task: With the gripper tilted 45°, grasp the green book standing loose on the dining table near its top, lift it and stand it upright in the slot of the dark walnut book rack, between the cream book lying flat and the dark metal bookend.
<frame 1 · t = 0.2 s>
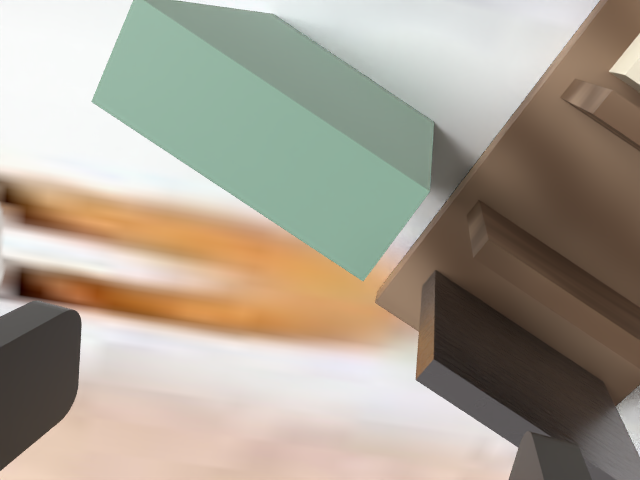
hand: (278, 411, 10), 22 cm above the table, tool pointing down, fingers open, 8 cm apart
bookend: (512, 333, 30), resting on book rack
book rack: (610, 210, 28), on the table
book: (336, 97, 29), on the table
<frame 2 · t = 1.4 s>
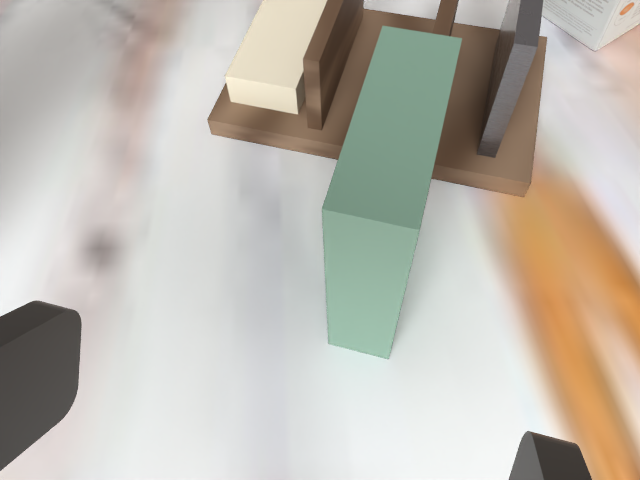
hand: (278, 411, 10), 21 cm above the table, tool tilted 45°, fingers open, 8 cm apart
toppled book: (285, 59, 41), resting on book rack
bookend: (495, 96, 39), resting on book rack
small box: (595, 14, 46), on the table
book rack: (382, 92, 42), on the table
book: (377, 275, 34), on the table
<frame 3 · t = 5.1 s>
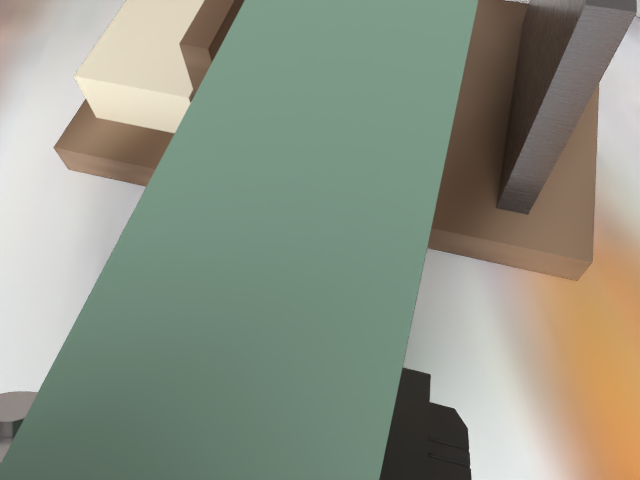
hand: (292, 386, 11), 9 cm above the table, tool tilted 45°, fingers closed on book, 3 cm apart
toppled book: (191, 50, 26), resting on book rack
bookend: (525, 108, 24), resting on book rack
book rack: (344, 100, 26), on the table
book: (321, 431, 19), on the table, touching gripper
when the fingers open (12 cm above the table, at t = 10.6 s): book drops 1 cm, resting on book rack.
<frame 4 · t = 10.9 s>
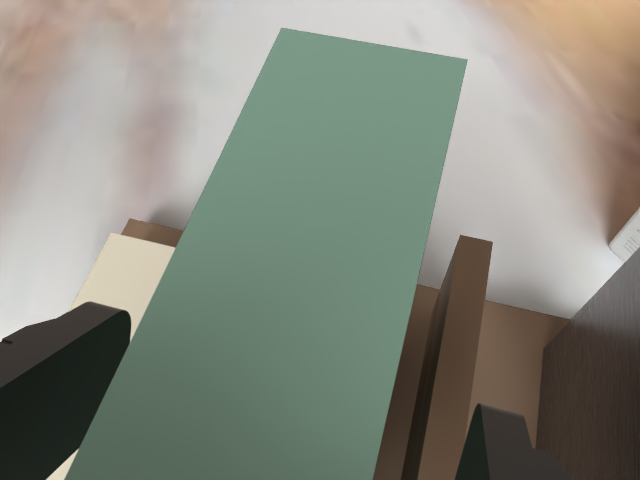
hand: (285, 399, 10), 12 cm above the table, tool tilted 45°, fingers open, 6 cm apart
toppled book: (133, 386, 21), resting on book rack
book rack: (323, 447, 21), on the table
book: (319, 452, 20), point 1 cm above the table, touching book rack
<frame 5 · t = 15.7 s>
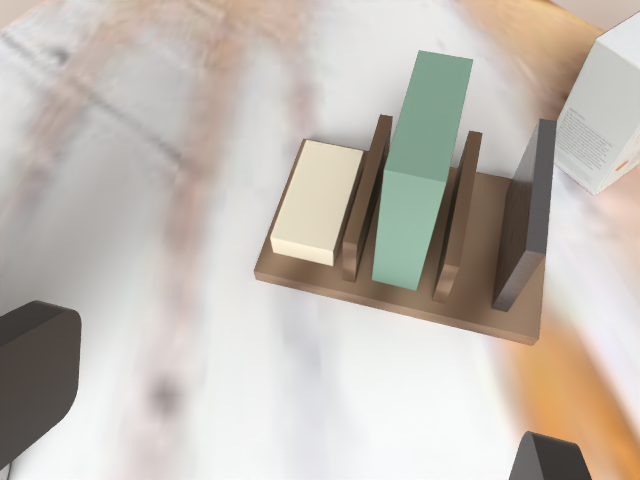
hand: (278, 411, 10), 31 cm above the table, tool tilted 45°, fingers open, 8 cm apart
toppled book: (319, 208, 47), resting on book rack
bookend: (506, 248, 44), resting on book rack
small box: (594, 154, 51), on the table
book rack: (405, 236, 47), on the table
book: (407, 231, 45), point 1 cm above the table, touching book rack
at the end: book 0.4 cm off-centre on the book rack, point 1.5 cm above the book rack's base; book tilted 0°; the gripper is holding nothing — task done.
